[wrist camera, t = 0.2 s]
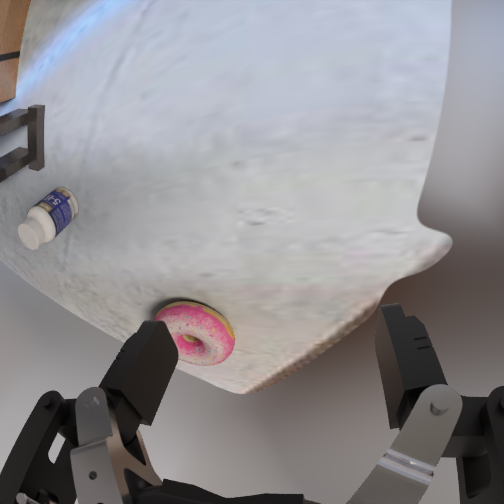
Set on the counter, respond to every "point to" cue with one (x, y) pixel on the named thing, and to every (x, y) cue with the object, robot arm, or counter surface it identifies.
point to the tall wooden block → (11, 43)
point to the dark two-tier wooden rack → (35, 151)
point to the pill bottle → (48, 218)
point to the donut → (198, 332)
